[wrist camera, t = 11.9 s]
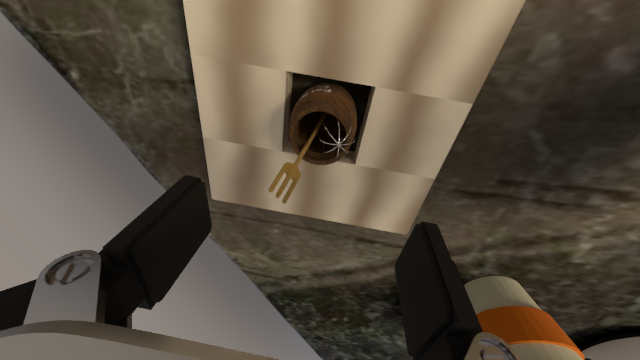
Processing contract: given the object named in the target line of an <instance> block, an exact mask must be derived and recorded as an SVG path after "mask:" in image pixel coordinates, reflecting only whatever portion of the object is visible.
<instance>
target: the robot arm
mask: <svg viewBox="0 0 640 360" xmlns="http://www.w3.org/2000/svg"><path fill="white" fill-rule="evenodd" d="M211 227H212V224H211V218H210V212H209V206H208V200H207V194H206V188H205V183H204V182H202V181H201V179H200V178H198V177H193V176H187V175H186V176H184V177H182V178H181V179H180V180H179V181H178V182H177V183H175V184H174V185H173V186H172V187H171V188H170V189H169V190H168V191H166V192H165V193H164V194H163V195H162V196H161V197H160V198H159V199H157V200H156V201H155V202H154V203H153V204H152V205H150V206H149V207H148V208H147V209H146V210H145V211H144V212H142V214H140V215H139V216H138V217H137V218H136V219H134V220H133V221H132V222H131V223H130V224H129V225H128V226H126V227H125V228H124V229H123V230H122V231H121V232H120V233H119V234H117V235H116V236H115V237H114V238H113V239H112V240H110V242H108V243H107V244H106V245H105V246H104V247H103V250H102V251H100V252H99V253H97V252H95V251H92V250H81V251H75V252H72V253H69V254H66V255H64V256H62V257H60V258H58V259H56V260H54V261H53V262H51V263H50V264H49V265H47V266H46V267H45V268H44V269H43V270H42V271H41V273H40V274H39V276H38V278H37V279H36V280H33V281H30V282H27V283H24V284H21V285H18V286H15V287H12V288H9V289H6V290H3V291H0V360H278V359H274V358H269V357H264V356H260V355H255V354H250V353H246V352H241V351H237V350H231V349H227V348H223V347H218V346H213V345H208V344H204V343H199V342H194V341H189V340H185V339H180V338H175V337H170V336H165V335H161V334H156V333H151V332H146V331H141V330H135V329H132V313H133V312H134V311H135V309H136V308H137V307H140V308H145V309H149V310H151V309H152V308H153V306H154V305H155V304H156V302H160V301H161V300H162V299H163V298H164V296H165V295H166V294H167V292H168V291H169V289H170V288H171V286H172V285H173V284H174V282H175V281H176V280H177V278H178V277H179V275H180V274H181V272H182V271H183V270H184V268H185V267H186V265H187V264H188V263H189V261H190V260H191V258H192V257H193V255H194V254H195V253H196V251H197V250H198V248H199V247H200V246H201V244H202V243H203V241H204V240H205V239H206V237H207V236H208V234H209V233H210V231H211ZM395 273H396V280H397V286H398V292H399V299H400V305H401V311H402V318H403V324H404V331H405V337H406V343H407V349H408V353H409V355H410V356H413V360H521V358H520V357H519V355H518V354H517V353H516V352H515V350H514V349H513V348H512V347H511V346H510V345H509V344H508V343H507V342H506V341H504V340H503V339H501V338H500V337H498V336H496V335H494V334H491V333H487V332H483V330H482V327H481V325H480V323H479V320H478V318H477V315H476V313H475V311H474V308H473V306H472V303H471V301H470V298H469V296H468V294H467V291H466V289H465V286H464V284H463V281H462V279H461V277H460V274H459V272H458V269H457V267H456V265H455V263H454V261H453V260H452V259H451V257H450V255H449V252H448V250H447V247H446V245H445V242H444V240H443V237H442V235H441V232H440V230H439V227H438V226H437V225H436V224H433V223H427V222H421V223H420V224H416V225H415V227H414V229H413V231H412V233H411V235H410V237H409V239H408V240H407V242H406V244H405V246H404V248H403V250H402V252H401V254H400V256H399V258H398V260H397V261H396V264H395Z"/></svg>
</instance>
